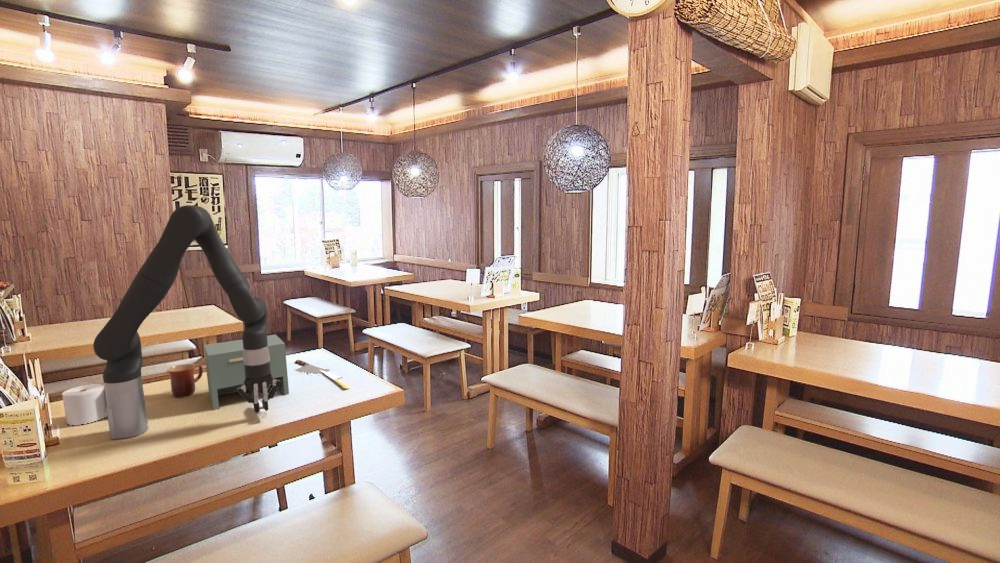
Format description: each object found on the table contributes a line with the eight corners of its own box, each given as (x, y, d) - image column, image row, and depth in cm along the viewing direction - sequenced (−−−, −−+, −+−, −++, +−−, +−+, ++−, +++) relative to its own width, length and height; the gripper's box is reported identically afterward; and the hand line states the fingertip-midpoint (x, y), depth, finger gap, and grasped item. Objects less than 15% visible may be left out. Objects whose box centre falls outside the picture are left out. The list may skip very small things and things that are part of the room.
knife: (327, 364, 217) (315, 365, 214) (355, 385, 190) (343, 387, 187) (326, 367, 217) (315, 368, 214) (355, 388, 190) (343, 390, 187)
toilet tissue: (70, 416, 168) (65, 387, 167) (115, 409, 174) (111, 381, 173) (63, 428, 159) (58, 398, 158) (110, 420, 165) (106, 390, 164)
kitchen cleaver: (281, 364, 218) (303, 358, 225) (281, 367, 218) (303, 360, 225) (309, 377, 202) (332, 370, 209) (309, 380, 202) (332, 372, 209)
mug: (179, 400, 181) (176, 372, 179) (164, 396, 185) (161, 369, 183) (211, 389, 191) (208, 363, 190) (196, 386, 195) (193, 360, 194)
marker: (256, 405, 175) (265, 419, 162) (249, 403, 173) (258, 417, 160) (259, 398, 175) (268, 411, 162) (253, 396, 174) (262, 409, 161)
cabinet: (214, 410, 172) (208, 355, 169) (209, 395, 185) (203, 345, 182) (289, 394, 185) (285, 343, 182) (279, 381, 198) (275, 334, 195)
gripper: (234, 368, 155) (240, 422, 157) (282, 359, 162) (286, 411, 165) (231, 362, 161) (236, 414, 163) (277, 354, 168) (281, 404, 171)
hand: (261, 412), depth 164 cm, fingers closed on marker, 1 cm apart
